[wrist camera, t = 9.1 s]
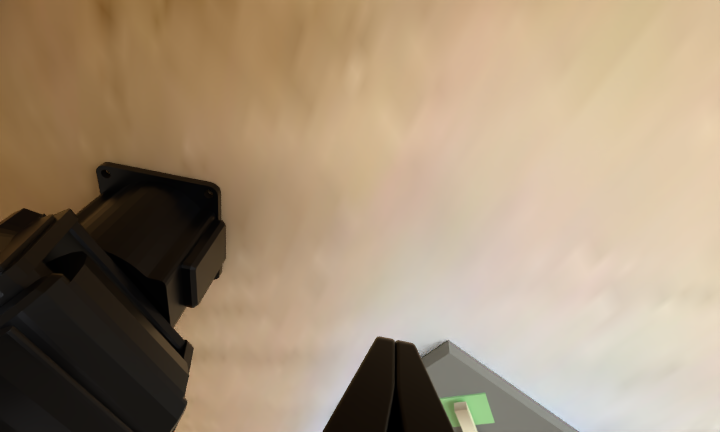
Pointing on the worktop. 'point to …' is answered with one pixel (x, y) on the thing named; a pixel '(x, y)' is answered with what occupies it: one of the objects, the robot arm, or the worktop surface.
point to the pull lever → (464, 417)
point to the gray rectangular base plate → (485, 395)
